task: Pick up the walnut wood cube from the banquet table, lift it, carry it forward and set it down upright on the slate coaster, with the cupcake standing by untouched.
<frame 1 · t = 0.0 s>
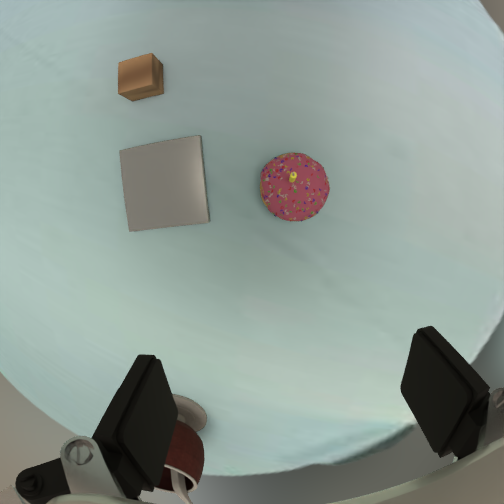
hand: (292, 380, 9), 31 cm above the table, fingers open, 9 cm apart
cupcake: (290, 185, 38), on the table
walnut cube: (147, 82, 34), on the table
slate coaster: (164, 184, 38), on the table
mate gourd: (180, 415, 50), on the table
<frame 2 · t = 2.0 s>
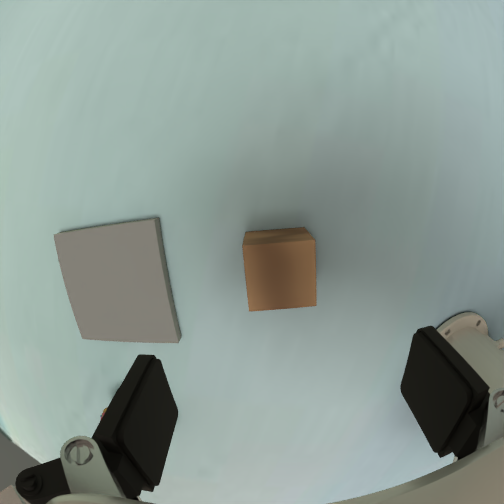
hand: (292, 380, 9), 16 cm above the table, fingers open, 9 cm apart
walnut cube: (277, 257, 25), on the table
slate coaster: (115, 284, 26), on the table
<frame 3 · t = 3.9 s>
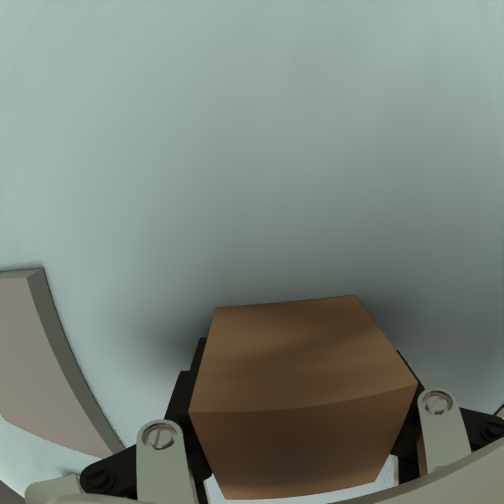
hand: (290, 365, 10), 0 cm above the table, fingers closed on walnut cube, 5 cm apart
walnut cube: (288, 357, 10), on the table, touching gripper
slate coaster: (17, 365, 11), on the table
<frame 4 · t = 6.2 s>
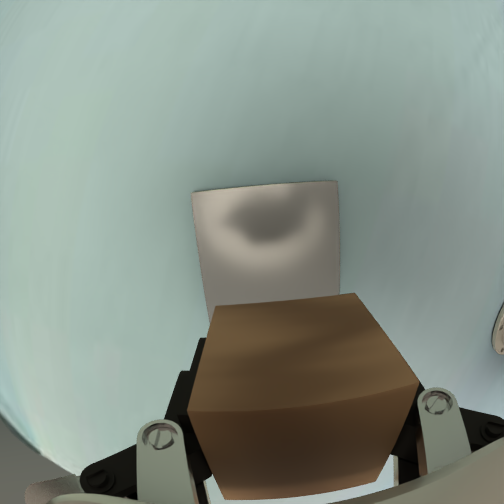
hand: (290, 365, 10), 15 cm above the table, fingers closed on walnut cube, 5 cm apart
walnut cube: (288, 357, 10), point 15 cm above the table, touching gripper
slate coaster: (269, 253, 25), on the table
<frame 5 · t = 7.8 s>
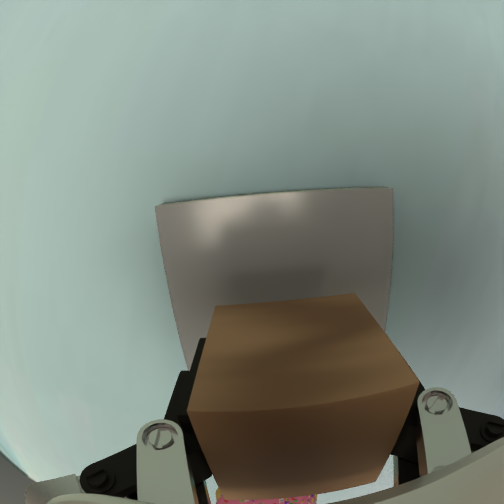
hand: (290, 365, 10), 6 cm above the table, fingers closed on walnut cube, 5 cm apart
cupcake: (266, 461, 21), on the table
walnut cube: (288, 357, 10), point 6 cm above the table, touching gripper
slate coaster: (282, 299, 16), on the table
when the fingers open (3 cm above the table, at t = 8.8 s): walnut cube drops 1 cm, resting on slate coaster.
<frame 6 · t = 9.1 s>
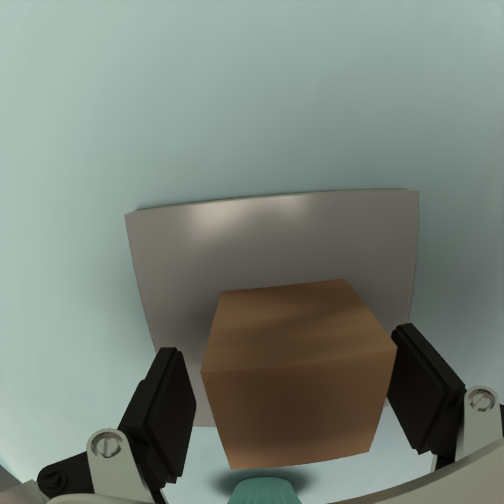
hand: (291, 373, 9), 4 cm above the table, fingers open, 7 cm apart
cupcake: (263, 485, 18), on the table
walnut cube: (287, 337, 12), point 1 cm above the table, touching slate coaster
slate coaster: (282, 325, 13), on the table
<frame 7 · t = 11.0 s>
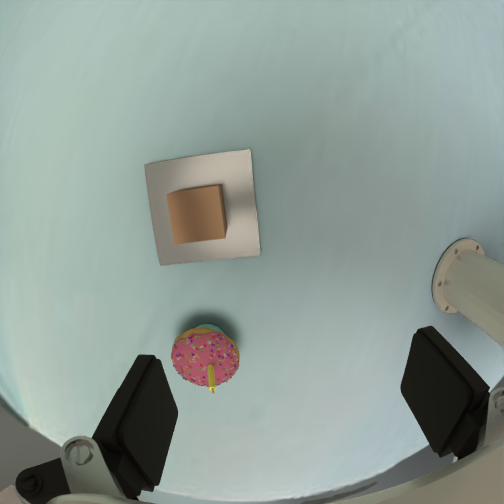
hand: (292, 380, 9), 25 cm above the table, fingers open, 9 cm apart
cupcake: (208, 338, 37), on the table
walnut cube: (202, 208, 31), point 1 cm above the table, touching slate coaster
slate coaster: (203, 207, 32), on the table
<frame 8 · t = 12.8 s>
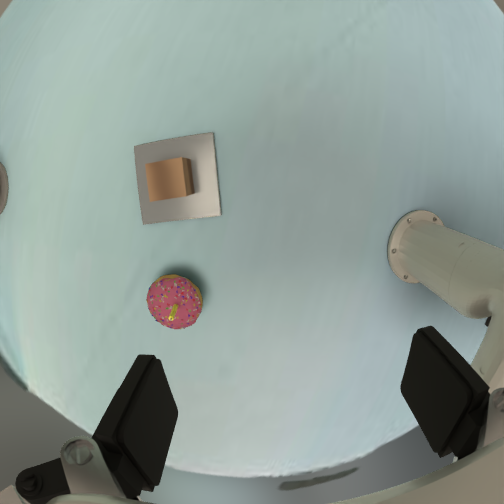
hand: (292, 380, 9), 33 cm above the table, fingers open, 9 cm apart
cupcake: (181, 290, 45), on the table
walnut cube: (175, 178, 38), point 1 cm above the table, touching slate coaster
slate coaster: (177, 178, 40), on the table
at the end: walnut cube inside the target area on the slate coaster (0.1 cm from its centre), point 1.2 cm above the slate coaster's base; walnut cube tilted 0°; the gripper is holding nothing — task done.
